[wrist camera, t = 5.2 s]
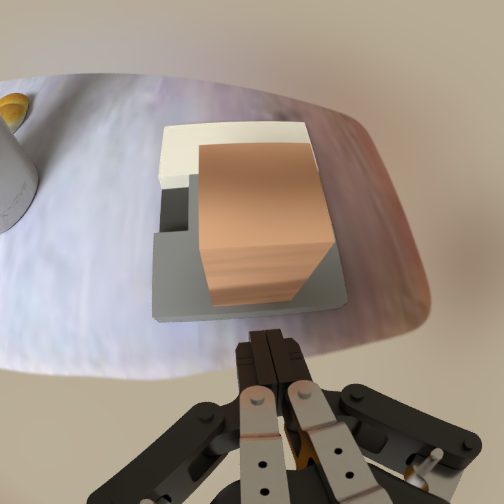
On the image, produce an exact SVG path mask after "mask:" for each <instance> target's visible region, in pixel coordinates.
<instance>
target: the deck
mask: <svg viewBox="0 0 504 504" xmlns="http://www.w3.org/2000/svg"><path fill="white" fill-rule="evenodd" d="M198 185H199V174H190V175H189V187H184V188H171V189H162V198H161V213H160V232H159V233H154V245H153V276H152V317H153V318H154V319H156V320H157V321H158V322H185V321H206V320H223V319H237V318H251V317H263V316H274V315H285V314H295V313H304V312H313V311H322V310H330V309H338V308H340V307H342V306H343V305H345V304H346V303H347V302H348V296H347V291H346V286H345V280H344V275H343V270H342V265H341V261H340V256H339V251H338V246H337V242H336V237H335V233H334V229H333V224H332V223H331V225H332V229H333V234H334V238H335V243H334V244H333V245H332V247H331V248H330V250H329V251H328V252H327V254H326V255H325V256H324V258H323V259H322V260H321V262H320V263H319V264H318V266H317V267H316V268H315V270H314V271H313V272H312V274H311V275H310V276H309V278H308V279H307V280H306V282H305V283H304V284H303V286H302V287H301V288H300V290H299V291H298V292H297V293H296V295H295V296H294V297H293V299H292V300H291V301H282V302H271V303H258V304H245V305H231V306H215V307H213V303H212V300H211V296H210V292H209V288H208V284H207V280H206V276H205V271H204V267H203V263H202V259H201V255H200V251H199V196H198Z"/></svg>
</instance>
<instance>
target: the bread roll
mask: <svg viewBox="0 0 504 504" xmlns="http://www.w3.org/2000/svg"><path fill="white" fill-rule="evenodd" d="M28 104H29V100H28V98H27V97H26V96H25V95H23V94H20V93H12V94H9V95H7V96H5V97H3V98H1V99H0V114H1V115H2V117H3V119H4V120H5V122H6V123H7V125H8V127H9V128H10V130H11V131H12V133H14V132H15V131H16V130H17V129H18V127H19V126H20V125H21V124H22V122H23V120H24V118H25V115H26V111H27V109H28Z"/></svg>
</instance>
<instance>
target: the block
mask: <svg viewBox="0 0 504 504" xmlns="http://www.w3.org/2000/svg"><path fill="white" fill-rule="evenodd" d="M198 196H199V251H200V255H201V259H202V263H203V267H204V271H205V276H206V280H207V284H208V288H209V292H210V296H211V300H212V303H213V307H215V306H231V305H245V304H258V303H271V302H282V301H291V300H292V299H293V297H294V296H295V295H296V293H297V292H298V291H299V290H300V288H301V287H302V286H303V284H304V283H305V282H306V280H307V279H308V278H309V276H310V275H311V274H312V272H313V271H314V270H315V268H316V267H317V266H318V264H319V263H320V262H321V260H322V259H323V258H324V256H325V255H326V254H327V252H328V251H329V250H330V248H331V247H332V245H333V244H334V243H335V238H334V234H333V229H332V225H331V221H330V216H329V212H328V208H327V204H326V200H325V196H324V192H323V188H322V185H321V181H320V177H319V173H318V170H317V166H316V163H315V159H314V155H313V152H312V149H311V145H310V143H230V144H210V145H199V185H198Z"/></svg>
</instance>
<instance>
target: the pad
mask: <svg viewBox="0 0 504 504" xmlns="http://www.w3.org/2000/svg"><path fill="white" fill-rule="evenodd" d="M230 143H310V145H311V142H310V139H309V135H308V132H307V129H306V126H305V123H304V122H274V121H254V122H219V123H202V124H188V125H176V126H166V127H164V134H163V141H162V149H161V157H160V166H159V176H158V178H159V181H160V184H161V187H162V189H171V188H184V187H189V175H190V174H199V145H210V144H230ZM311 149H312V145H311ZM312 152H313V149H312ZM313 155H314V152H313ZM314 159H315V156H314ZM315 163H316V159H315ZM316 166H317V163H316ZM317 170H318V166H317ZM318 171H319V170H318Z"/></svg>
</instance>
